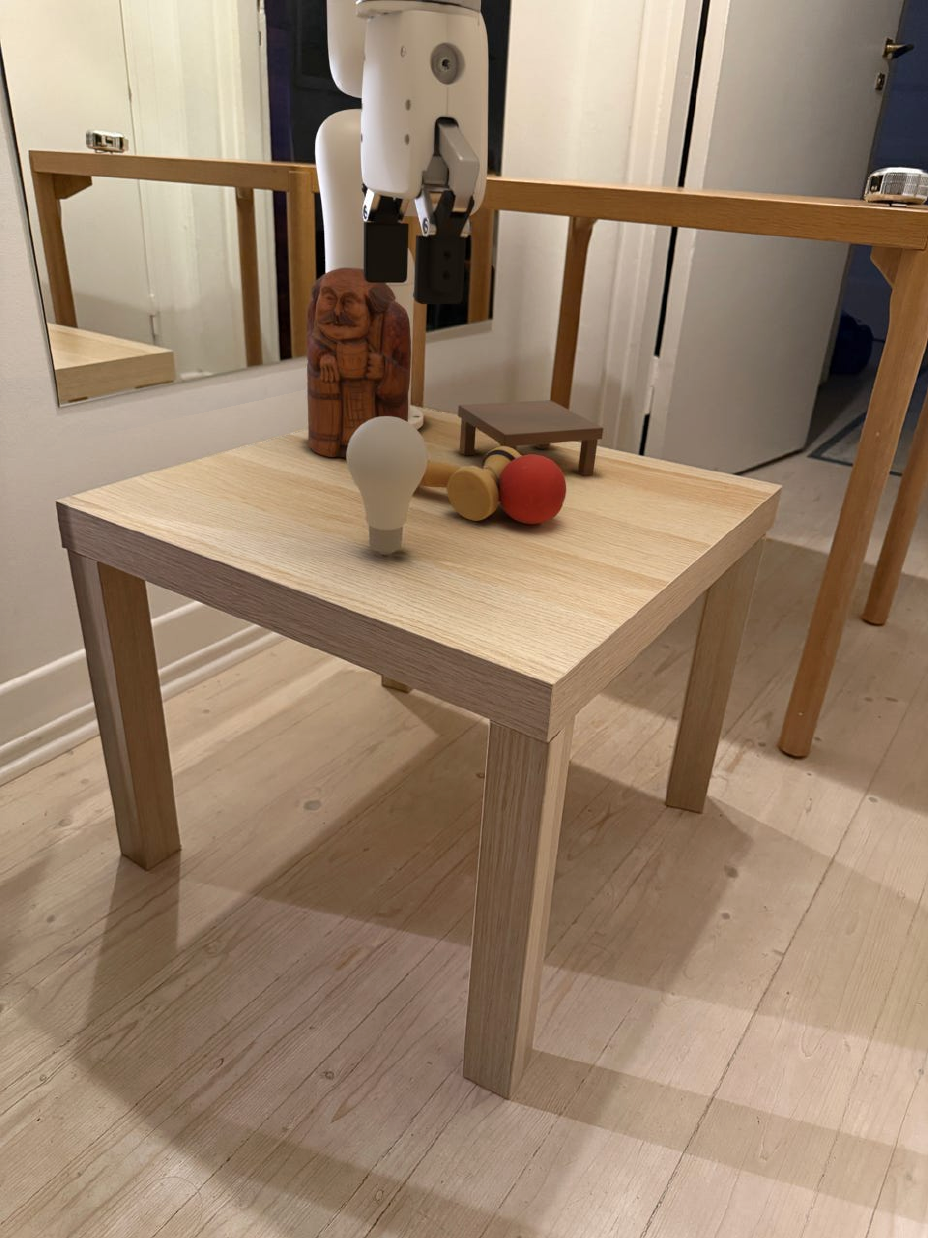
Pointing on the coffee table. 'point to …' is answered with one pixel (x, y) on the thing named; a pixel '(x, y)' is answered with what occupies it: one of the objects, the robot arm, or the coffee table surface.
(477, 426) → the desk
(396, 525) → the lightbulb
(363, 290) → the wooden figurine
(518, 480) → the kendama
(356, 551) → the coffee table surface
